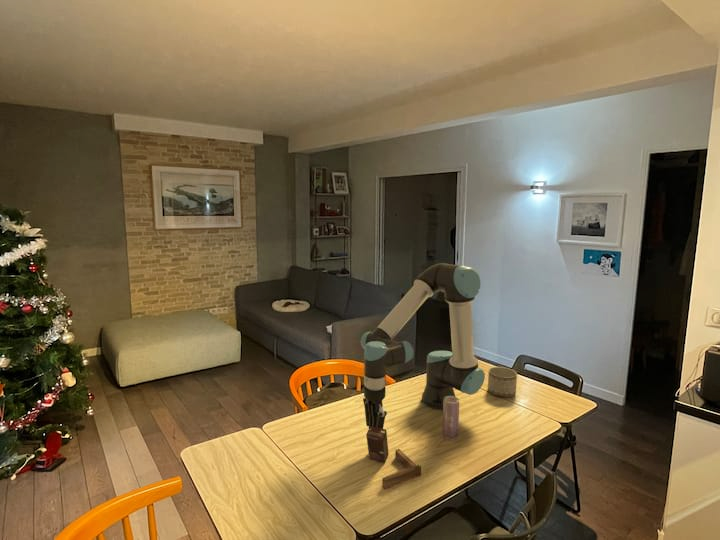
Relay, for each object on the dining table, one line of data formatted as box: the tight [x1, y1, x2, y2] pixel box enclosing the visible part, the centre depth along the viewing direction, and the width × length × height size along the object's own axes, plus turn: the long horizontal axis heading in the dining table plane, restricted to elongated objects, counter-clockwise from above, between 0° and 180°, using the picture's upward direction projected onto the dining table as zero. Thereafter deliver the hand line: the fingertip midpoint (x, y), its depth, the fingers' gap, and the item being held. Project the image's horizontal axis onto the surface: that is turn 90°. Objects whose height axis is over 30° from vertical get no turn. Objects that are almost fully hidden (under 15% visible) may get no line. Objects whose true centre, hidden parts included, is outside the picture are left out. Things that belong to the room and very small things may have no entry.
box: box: [366, 426, 390, 464], centre depth 140 cm, size 6×4×12 cm
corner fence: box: [381, 448, 422, 490], centre depth 135 cm, size 12×14×3 cm
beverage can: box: [441, 396, 460, 440], centre depth 155 cm, size 6×6×15 cm
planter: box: [487, 366, 518, 398], centre depth 192 cm, size 13×13×10 cm
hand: (373, 448), depth 146 cm, fingers closed
